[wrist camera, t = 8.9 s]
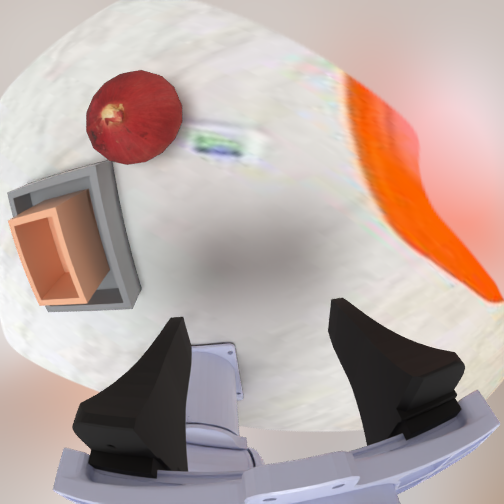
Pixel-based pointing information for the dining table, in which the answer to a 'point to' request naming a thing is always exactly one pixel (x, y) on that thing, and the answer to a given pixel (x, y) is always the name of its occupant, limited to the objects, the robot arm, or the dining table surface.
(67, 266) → the small crate
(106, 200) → the big crate
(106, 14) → the dining table surface
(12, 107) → the dining table surface
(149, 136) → the onion
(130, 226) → the dining table surface
